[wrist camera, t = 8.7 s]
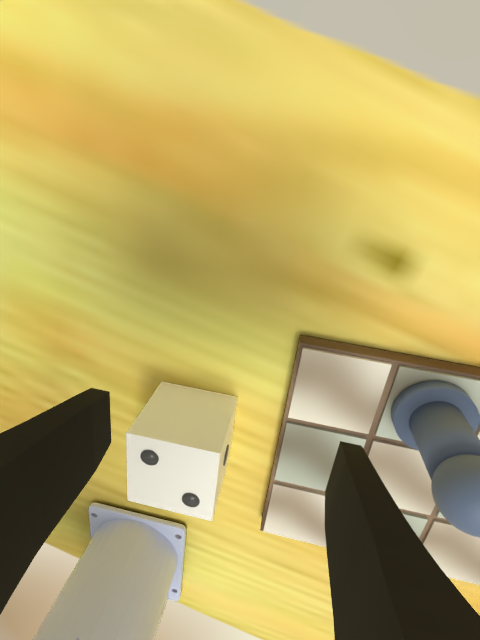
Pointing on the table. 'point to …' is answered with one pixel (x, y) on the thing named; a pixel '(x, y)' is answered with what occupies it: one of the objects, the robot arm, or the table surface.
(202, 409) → the die
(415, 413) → the pawn
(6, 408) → the table surface
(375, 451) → the board
